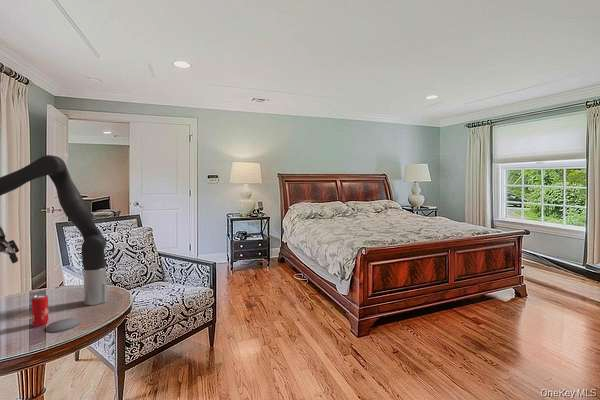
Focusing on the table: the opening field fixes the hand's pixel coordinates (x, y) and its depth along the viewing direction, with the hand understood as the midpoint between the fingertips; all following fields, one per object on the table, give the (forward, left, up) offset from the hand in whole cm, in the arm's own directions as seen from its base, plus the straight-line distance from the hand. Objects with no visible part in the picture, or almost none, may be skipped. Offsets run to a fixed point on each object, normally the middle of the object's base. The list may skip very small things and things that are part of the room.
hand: (5, 264), depth 133 cm
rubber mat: (-24, +16, -24) cm, 38 cm away
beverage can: (-15, +11, -24) cm, 31 cm away
